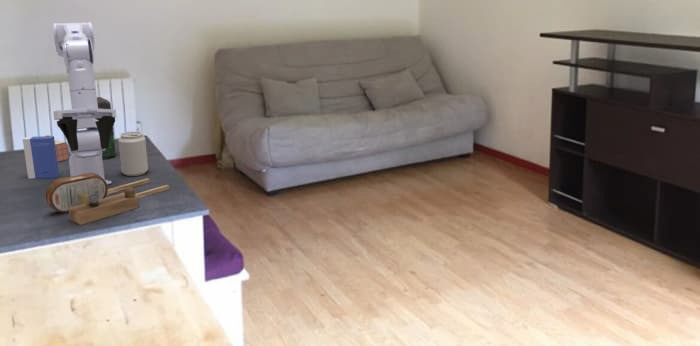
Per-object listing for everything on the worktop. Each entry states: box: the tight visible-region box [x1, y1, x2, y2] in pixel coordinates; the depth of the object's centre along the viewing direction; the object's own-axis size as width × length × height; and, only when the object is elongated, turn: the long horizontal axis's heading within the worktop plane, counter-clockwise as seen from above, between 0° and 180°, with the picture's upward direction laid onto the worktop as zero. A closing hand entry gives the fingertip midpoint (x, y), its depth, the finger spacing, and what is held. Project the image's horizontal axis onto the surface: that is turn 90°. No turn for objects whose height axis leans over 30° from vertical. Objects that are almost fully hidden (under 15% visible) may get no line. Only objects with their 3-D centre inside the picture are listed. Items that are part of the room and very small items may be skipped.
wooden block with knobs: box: [68, 187, 140, 226], centre depth 171 cm, size 5×16×5 cm, turn 140°
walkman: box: [22, 134, 60, 180], centre depth 199 cm, size 8×3×12 cm, turn 96°
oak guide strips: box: [107, 178, 170, 199], centre depth 188 cm, size 10×15×1 cm, turn 140°
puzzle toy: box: [54, 139, 70, 163], centre depth 217 cm, size 6×6×6 cm
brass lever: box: [78, 193, 99, 206], centre depth 170 cm, size 7×2×2 cm, turn 50°
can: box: [117, 130, 149, 177], centre depth 202 cm, size 8×8×12 cm
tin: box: [45, 173, 109, 213], centre depth 175 cm, size 15×3×8 cm, turn 133°
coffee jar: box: [85, 96, 116, 160], centre depth 219 cm, size 10×8×19 cm
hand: (90, 149), depth 162 cm, fingers open, 7 cm apart
